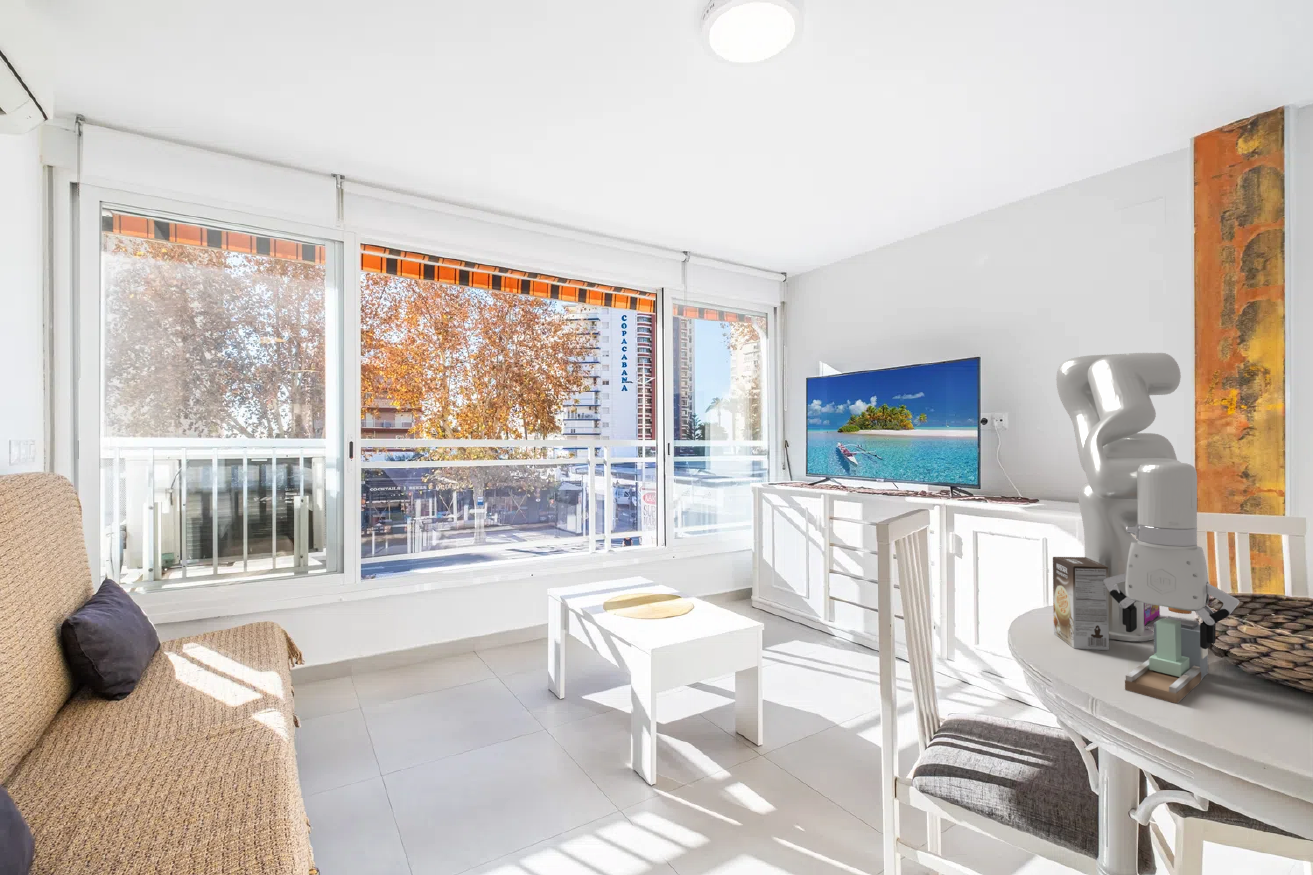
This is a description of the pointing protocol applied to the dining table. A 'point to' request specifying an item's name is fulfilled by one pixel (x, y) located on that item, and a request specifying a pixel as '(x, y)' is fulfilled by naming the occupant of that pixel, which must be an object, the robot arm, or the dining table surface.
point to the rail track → (1162, 683)
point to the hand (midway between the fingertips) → (1167, 638)
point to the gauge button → (1179, 611)
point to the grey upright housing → (1190, 644)
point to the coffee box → (1081, 602)
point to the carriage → (1169, 649)
